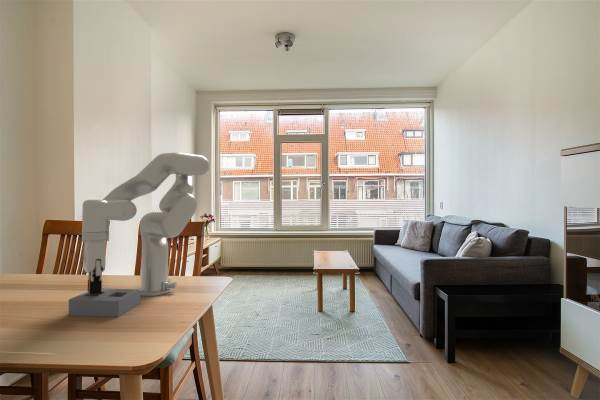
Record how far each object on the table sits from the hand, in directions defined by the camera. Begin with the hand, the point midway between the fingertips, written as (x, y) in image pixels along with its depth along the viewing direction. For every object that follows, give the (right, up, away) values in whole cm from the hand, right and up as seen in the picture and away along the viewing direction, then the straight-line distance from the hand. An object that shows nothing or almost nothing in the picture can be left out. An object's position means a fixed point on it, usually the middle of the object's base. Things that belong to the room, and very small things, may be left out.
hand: (94, 291), depth 101 cm
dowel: (0, -3, 0) cm, 3 cm away
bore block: (+4, -6, 0) cm, 7 cm away
